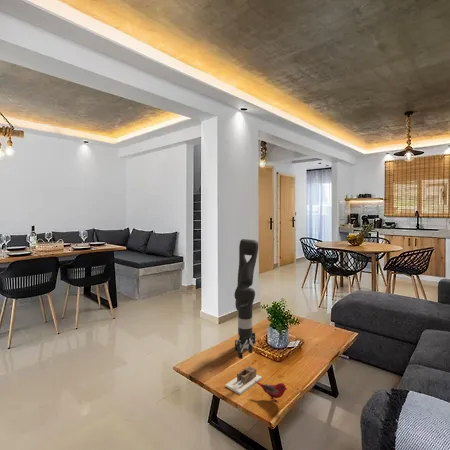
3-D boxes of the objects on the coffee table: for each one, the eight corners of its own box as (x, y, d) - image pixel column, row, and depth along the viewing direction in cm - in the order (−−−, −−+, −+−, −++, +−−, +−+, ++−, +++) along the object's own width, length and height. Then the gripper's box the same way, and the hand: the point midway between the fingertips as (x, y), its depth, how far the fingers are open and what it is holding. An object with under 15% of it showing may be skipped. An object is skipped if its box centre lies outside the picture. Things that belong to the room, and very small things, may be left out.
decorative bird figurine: (285, 407, 141) (285, 386, 140) (252, 393, 152) (252, 374, 151) (288, 404, 143) (288, 383, 143) (255, 390, 154) (255, 371, 153)
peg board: (247, 371, 171) (247, 364, 171) (261, 378, 164) (261, 371, 164) (225, 386, 158) (225, 379, 158) (240, 394, 151) (240, 386, 151)
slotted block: (244, 384, 158) (244, 377, 157) (237, 380, 161) (236, 373, 161) (256, 376, 165) (256, 369, 165) (248, 372, 168) (248, 365, 168)
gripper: (241, 331, 153) (242, 363, 154) (259, 323, 163) (259, 352, 165) (230, 327, 158) (231, 358, 159) (248, 319, 168) (248, 348, 170)
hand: (245, 355), depth 162 cm, fingers open, 7 cm apart
